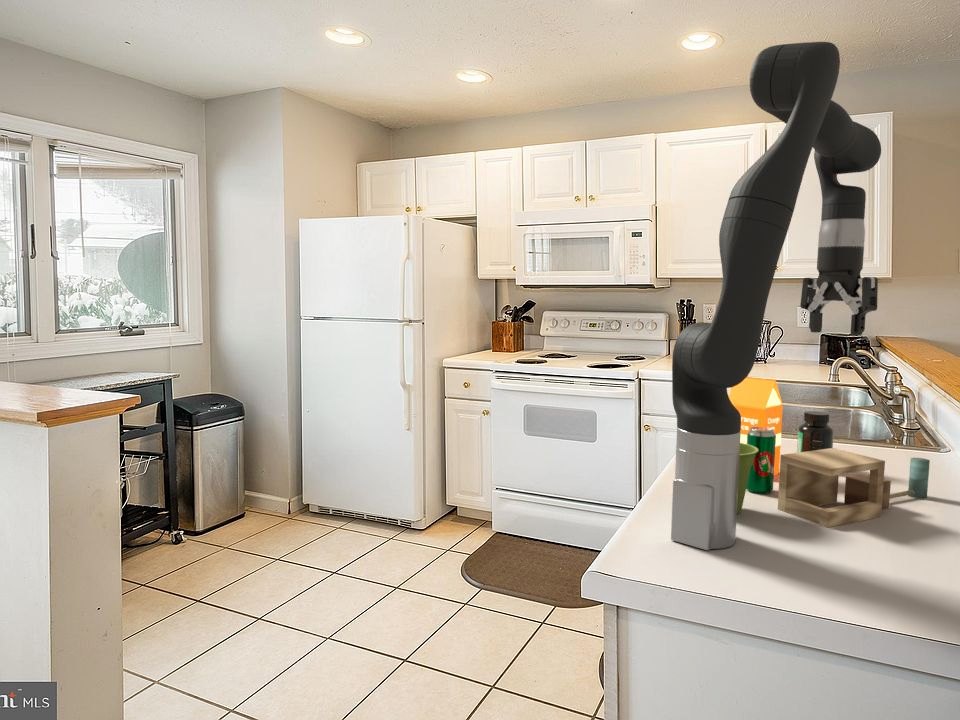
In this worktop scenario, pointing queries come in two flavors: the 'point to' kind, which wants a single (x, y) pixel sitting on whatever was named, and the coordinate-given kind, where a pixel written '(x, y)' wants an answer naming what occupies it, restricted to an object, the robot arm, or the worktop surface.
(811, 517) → the box
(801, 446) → the supplement bottle
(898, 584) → the worktop surface
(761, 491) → the soda can
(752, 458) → the plant pot
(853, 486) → the tethered block
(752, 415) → the orange juice
